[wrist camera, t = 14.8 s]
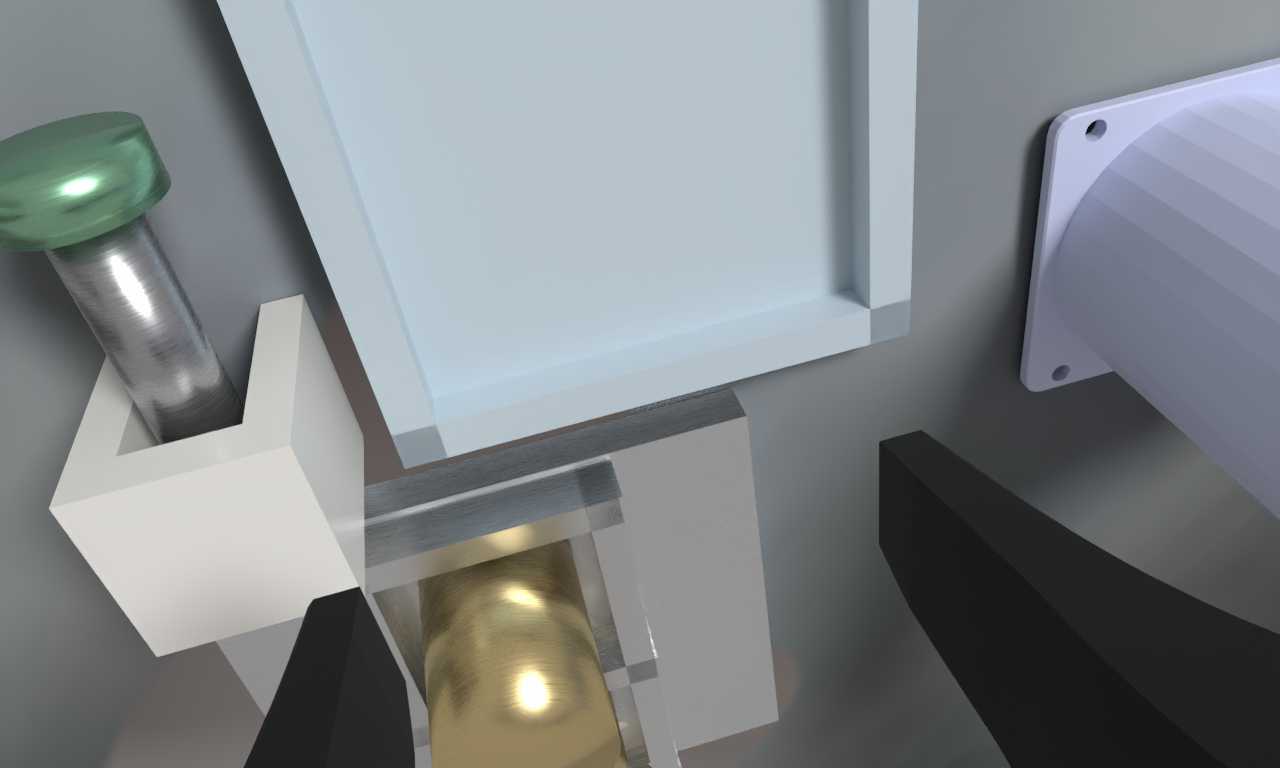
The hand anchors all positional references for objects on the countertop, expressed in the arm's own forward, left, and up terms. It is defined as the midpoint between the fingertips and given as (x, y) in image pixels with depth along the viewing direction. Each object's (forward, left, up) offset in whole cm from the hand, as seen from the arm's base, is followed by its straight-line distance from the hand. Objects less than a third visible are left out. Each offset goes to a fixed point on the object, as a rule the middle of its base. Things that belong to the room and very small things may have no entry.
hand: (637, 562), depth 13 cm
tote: (-2, -2, -10) cm, 10 cm away
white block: (+7, +2, -10) cm, 12 cm away
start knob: (+7, -1, -8) cm, 11 cm away
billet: (+3, +9, -9) cm, 13 cm away
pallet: (+3, +12, -10) cm, 16 cm away
